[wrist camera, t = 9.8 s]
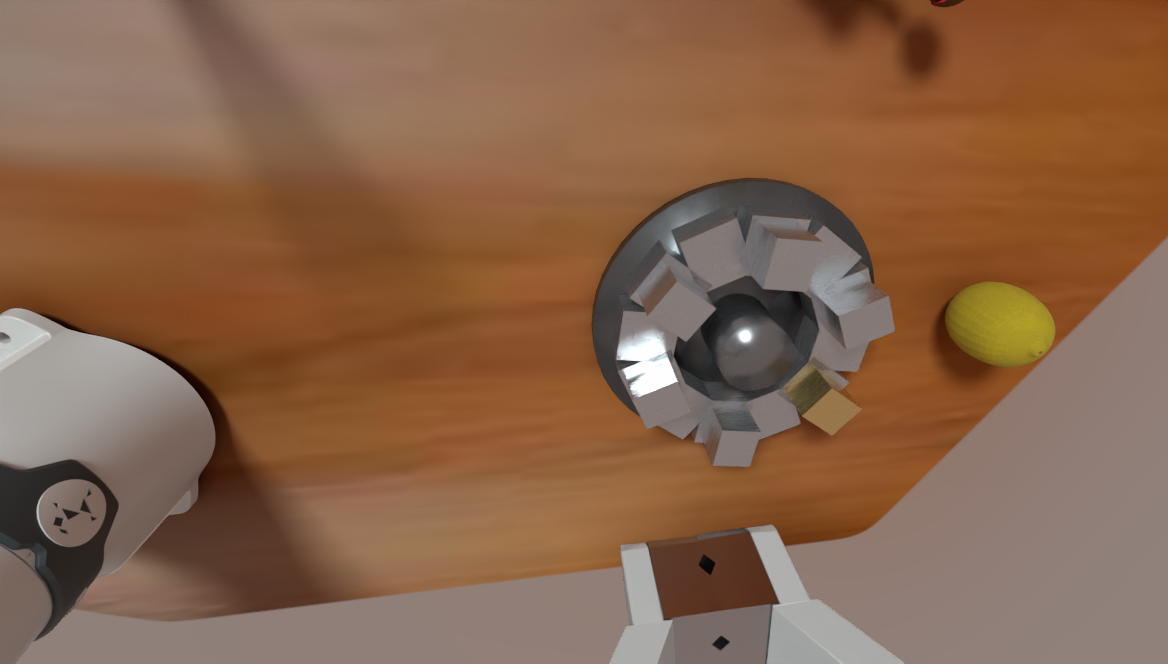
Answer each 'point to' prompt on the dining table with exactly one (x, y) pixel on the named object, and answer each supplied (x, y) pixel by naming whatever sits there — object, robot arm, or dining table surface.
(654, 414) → the cube bead bracelet
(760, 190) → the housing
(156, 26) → the dining table surface
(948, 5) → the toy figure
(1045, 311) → the lemon
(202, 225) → the dining table surface
